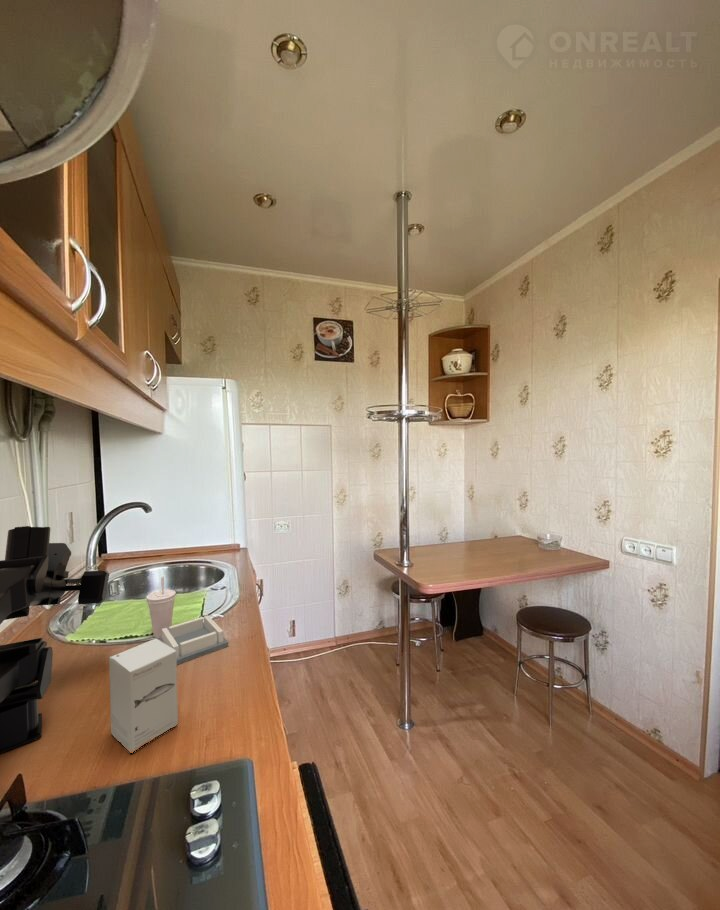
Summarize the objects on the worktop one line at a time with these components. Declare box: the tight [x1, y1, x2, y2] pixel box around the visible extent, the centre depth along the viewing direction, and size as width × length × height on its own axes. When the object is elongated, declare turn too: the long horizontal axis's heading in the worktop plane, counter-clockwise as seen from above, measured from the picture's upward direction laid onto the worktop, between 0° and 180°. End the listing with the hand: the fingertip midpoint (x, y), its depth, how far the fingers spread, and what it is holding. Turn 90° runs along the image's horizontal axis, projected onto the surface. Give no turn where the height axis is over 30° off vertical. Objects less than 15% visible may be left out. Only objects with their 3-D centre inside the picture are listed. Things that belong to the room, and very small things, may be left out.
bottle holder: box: [157, 614, 229, 666], centre depth 86 cm, size 12×12×4 cm
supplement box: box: [108, 637, 179, 752], centre depth 60 cm, size 7×7×13 cm
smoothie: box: [145, 576, 177, 639], centre depth 91 cm, size 6×6×14 cm
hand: (67, 590), depth 80 cm, fingers open, 9 cm apart
